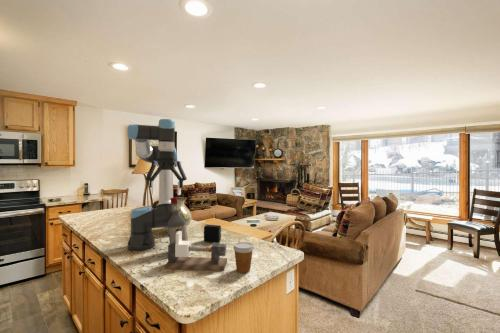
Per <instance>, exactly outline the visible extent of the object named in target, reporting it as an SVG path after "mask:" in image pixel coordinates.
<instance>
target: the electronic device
mask: <svg viewBox="0 0 500 333" xmlns="http://www.w3.org/2000/svg"><path fill="white" fill-rule="evenodd" d="M221 229H222V226H221V225H219V224H218V225H217V224H206V225H204V226H203V242H204V243H212V244H213V243H214V242H215V243H220V241H222V230H221Z"/></svg>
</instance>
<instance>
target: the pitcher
mask: <svg viewBox="0 0 500 333" xmlns="http://www.w3.org/2000/svg"><path fill="white" fill-rule="evenodd" d="M187 199H188V197H185V198H184V199H181V198H180V199H179V198H177V201H178V203H177V205H178V212H179V215H180V216H181V217H182V218H183V219H184V220H185V221H186V228H187V227H188V226H189V225H190V224H191V221H192V213H191V211H190V210H189V209H188V208H187V207H186V205H185V201H186V200H187ZM162 229H164V230H166V233H168V234H169V232H168V227H163V228H162Z"/></svg>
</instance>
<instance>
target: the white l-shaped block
mask: <svg viewBox="0 0 500 333" xmlns="http://www.w3.org/2000/svg"><path fill="white" fill-rule="evenodd" d="M189 247H192V240H188V241H182V231H179V232H177V233H176V244H175V257H190V255H191V253H192V251H189Z"/></svg>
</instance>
